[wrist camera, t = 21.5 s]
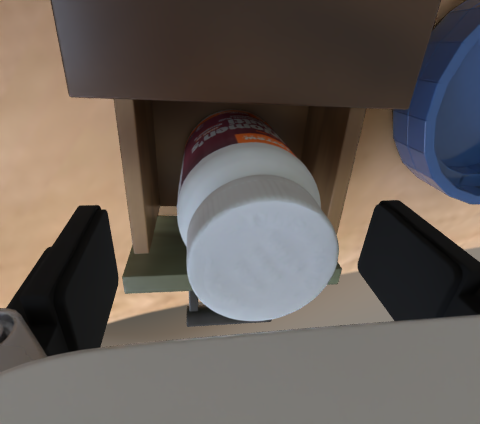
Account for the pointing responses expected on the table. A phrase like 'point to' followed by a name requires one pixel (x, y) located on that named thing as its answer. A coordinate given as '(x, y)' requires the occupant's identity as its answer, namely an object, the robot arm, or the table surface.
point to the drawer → (169, 170)
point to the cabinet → (246, 50)
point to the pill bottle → (251, 220)
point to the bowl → (446, 109)
